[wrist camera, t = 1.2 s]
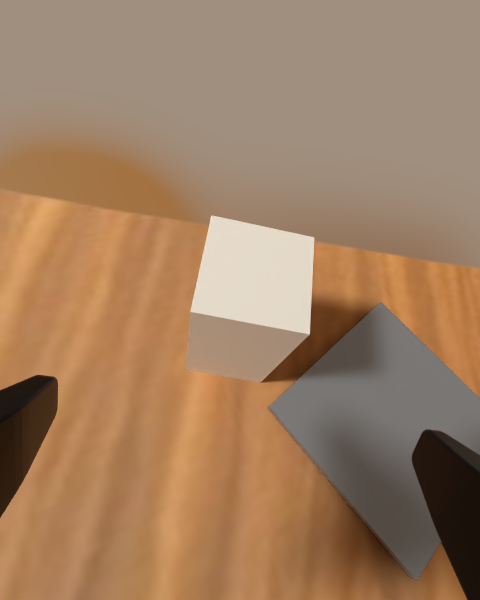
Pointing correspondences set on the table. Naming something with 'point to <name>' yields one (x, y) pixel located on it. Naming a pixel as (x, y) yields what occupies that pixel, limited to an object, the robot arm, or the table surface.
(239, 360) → the cream block
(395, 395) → the slate coaster
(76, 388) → the table surface
